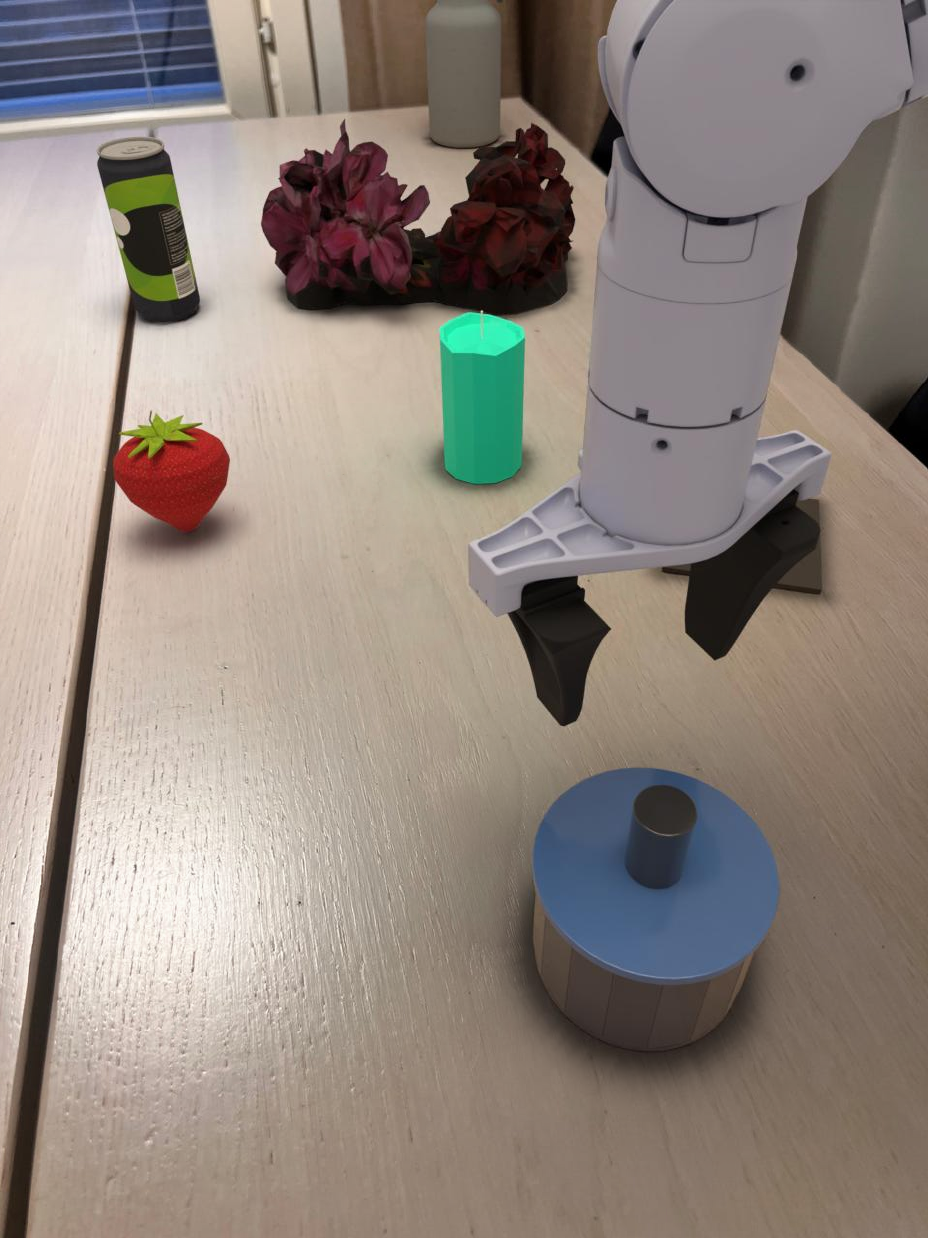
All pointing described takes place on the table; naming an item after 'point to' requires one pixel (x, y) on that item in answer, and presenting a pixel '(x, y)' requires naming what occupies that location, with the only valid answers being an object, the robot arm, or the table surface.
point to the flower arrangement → (407, 260)
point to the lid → (655, 876)
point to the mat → (800, 575)
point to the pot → (629, 997)
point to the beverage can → (149, 227)
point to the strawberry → (172, 471)
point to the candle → (482, 397)
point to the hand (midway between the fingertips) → (633, 675)
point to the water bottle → (464, 72)
